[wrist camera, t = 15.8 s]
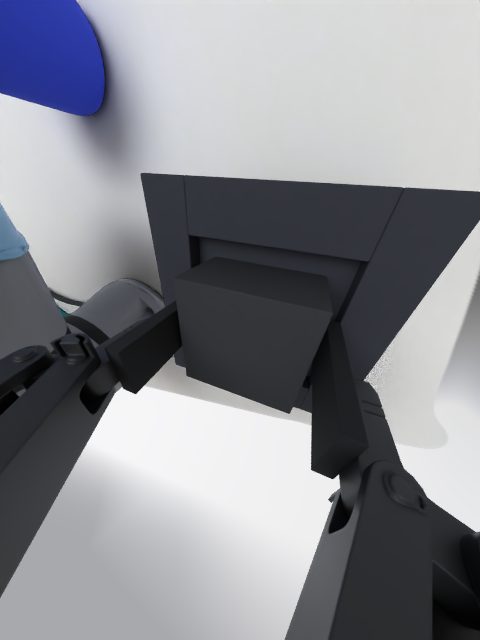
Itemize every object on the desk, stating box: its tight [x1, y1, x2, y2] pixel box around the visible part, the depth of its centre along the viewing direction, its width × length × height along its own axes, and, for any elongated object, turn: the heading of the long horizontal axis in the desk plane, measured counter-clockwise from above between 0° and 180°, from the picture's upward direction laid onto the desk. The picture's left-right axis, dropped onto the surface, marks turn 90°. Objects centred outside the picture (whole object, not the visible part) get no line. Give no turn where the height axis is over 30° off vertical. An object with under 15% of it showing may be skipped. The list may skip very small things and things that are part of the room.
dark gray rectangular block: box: [173, 257, 333, 414], centre depth 11 cm, size 7×7×4 cm
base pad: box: [141, 173, 480, 413], centre depth 13 cm, size 15×15×2 cm
